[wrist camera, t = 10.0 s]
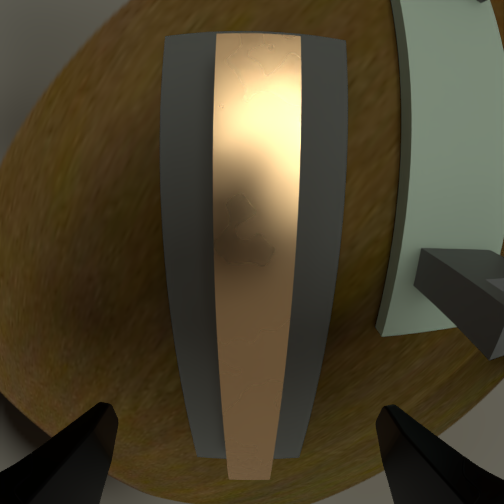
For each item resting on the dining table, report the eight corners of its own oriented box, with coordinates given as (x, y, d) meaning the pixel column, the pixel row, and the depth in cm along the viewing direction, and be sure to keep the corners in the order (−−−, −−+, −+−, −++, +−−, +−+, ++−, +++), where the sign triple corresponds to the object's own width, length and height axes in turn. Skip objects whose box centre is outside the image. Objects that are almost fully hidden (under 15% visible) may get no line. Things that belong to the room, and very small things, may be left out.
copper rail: (268, 449, 18) (269, 479, 15) (230, 449, 18) (228, 479, 15) (289, 60, 10) (300, 36, 8) (223, 58, 10) (216, 33, 8)
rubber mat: (298, 452, 19) (298, 457, 18) (198, 451, 19) (197, 456, 18) (342, 44, 10) (345, 40, 10) (168, 40, 10) (165, 36, 10)
